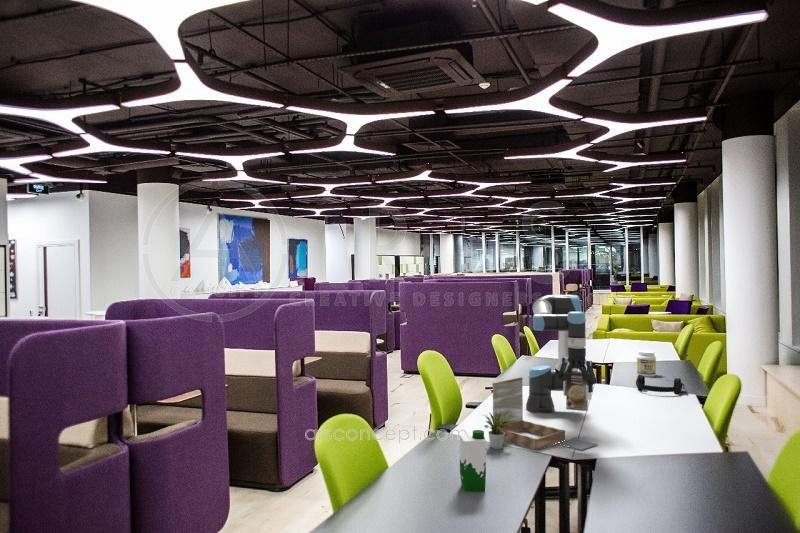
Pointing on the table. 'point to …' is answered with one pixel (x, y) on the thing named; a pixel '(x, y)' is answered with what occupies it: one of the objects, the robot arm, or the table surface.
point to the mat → (578, 444)
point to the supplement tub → (646, 363)
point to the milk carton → (473, 461)
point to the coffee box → (576, 391)
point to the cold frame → (520, 417)
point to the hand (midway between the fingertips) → (577, 397)
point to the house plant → (497, 430)
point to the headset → (677, 387)
